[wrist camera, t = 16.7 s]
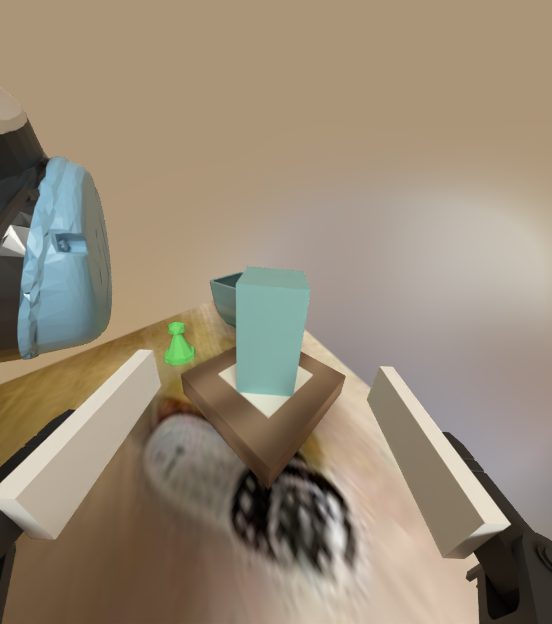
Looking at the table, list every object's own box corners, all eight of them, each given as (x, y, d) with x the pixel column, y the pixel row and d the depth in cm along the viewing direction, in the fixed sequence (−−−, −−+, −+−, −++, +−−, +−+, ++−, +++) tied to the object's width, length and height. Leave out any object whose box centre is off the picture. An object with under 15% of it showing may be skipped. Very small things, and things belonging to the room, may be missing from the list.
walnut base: (184, 393, 24) (180, 373, 23) (263, 346, 34) (264, 330, 33) (268, 489, 17) (270, 468, 15) (340, 393, 26) (346, 374, 25)
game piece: (160, 354, 30) (153, 319, 28) (189, 344, 33) (184, 312, 31) (170, 370, 28) (163, 333, 25) (200, 358, 30) (196, 323, 28)
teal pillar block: (236, 392, 21) (235, 283, 16) (245, 356, 27) (247, 266, 21) (293, 396, 21) (310, 290, 16) (290, 359, 27) (303, 271, 21)
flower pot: (211, 323, 40) (208, 279, 36) (240, 309, 47) (240, 271, 43) (245, 338, 36) (246, 291, 32) (272, 320, 43) (275, 280, 39)
